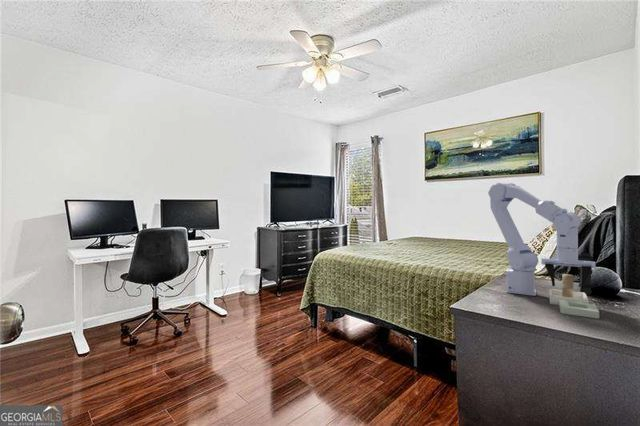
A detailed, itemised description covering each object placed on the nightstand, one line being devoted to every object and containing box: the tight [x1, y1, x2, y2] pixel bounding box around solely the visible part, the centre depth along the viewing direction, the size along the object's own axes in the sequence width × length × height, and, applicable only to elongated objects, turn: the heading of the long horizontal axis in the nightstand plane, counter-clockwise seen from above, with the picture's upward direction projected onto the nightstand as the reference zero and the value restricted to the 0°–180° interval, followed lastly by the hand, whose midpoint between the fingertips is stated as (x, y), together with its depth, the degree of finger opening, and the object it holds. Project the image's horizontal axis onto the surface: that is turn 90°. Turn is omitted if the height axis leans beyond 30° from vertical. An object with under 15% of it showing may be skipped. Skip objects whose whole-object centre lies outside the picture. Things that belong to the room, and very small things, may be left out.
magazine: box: [578, 252, 593, 295], centre depth 121 cm, size 4×13×15 cm, turn 137°
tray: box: [548, 288, 589, 306], centre depth 107 cm, size 10×10×3 cm
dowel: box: [561, 273, 575, 297], centre depth 106 cm, size 3×3×9 cm
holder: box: [558, 300, 600, 320], centre depth 97 cm, size 9×9×2 cm
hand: (567, 287), depth 106 cm, fingers open, 7 cm apart
